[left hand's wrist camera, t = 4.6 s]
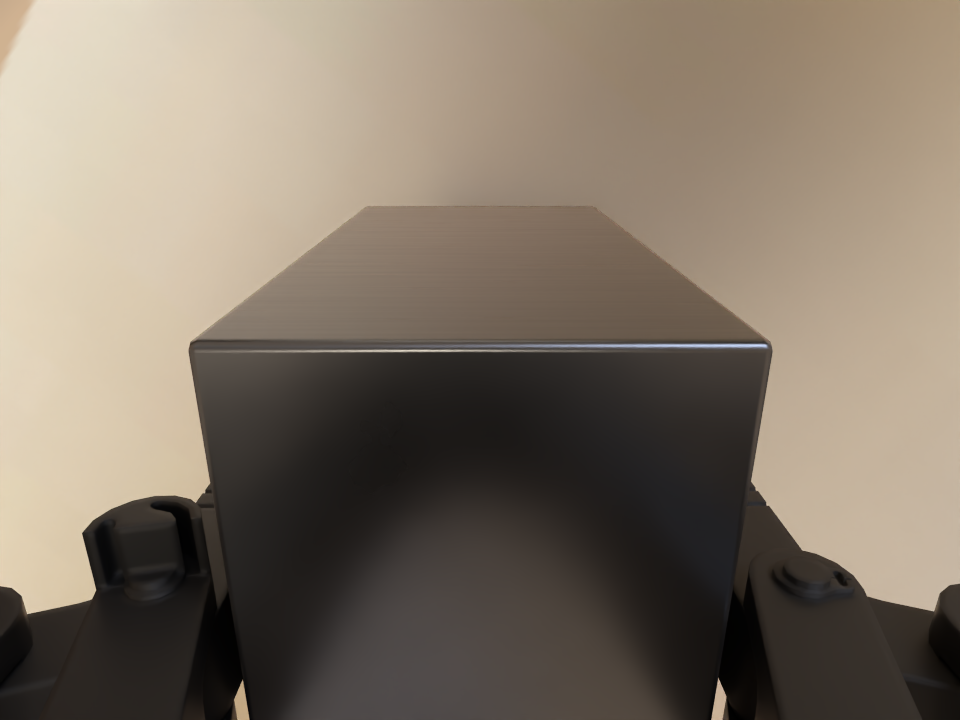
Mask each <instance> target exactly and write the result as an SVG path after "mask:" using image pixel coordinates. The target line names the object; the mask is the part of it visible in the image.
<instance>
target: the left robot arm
mask: <svg viewBox="0 0 960 720" xmlns="http://www.w3.org/2000/svg"><path fill="white" fill-rule="evenodd" d="M82 535H83V539H84V543H85V547H86V551H87V554H88V558H89V562H90V566H91V570H92V574H93V578H94V582H95V586H96V592H95V595H94V597H93V599H92V600H89V601H86V602H82V603H78V604H74V605H69V606H65V607H60V608H55V609H50V610H46V611H41V612H36V613H31V614H27V613H26V609H25V606H24V603H23V599H22V596H21V595H19V594H18V593H17V592H16V591H15V590H13V589H12V588H7V587H1V586H0V720H237V715H236V709H235V703H234V698H235V696H236V694H237V691H238V689H239V687H240V684H241V682H242V680H243V676H242V670H241V664H240V658H239V652H238V646H237V640H236V634H235V628H234V622H233V616H232V610H231V604H230V598H229V592H228V586H227V580H226V574H225V568H224V562H223V556H222V550H221V544H220V538H219V532H218V526H217V519H216V513H215V507H214V501H213V495H212V489H211V483H210V484H209V486H208V487H207V489H206V490H205V493H203V494H202V495H201V497H200V498H199V499H198V501H197V502H196V503H195V502H193V501H192V500H191V499H187V498H183V497H178V496H154V497H149V498H144V499H139V500H134V501H131V502H128V503H126V504H123V505H121V506H118V507H116V508H113V509H111V510H109V511H108V512H106V513H104V514H103V515H101V516H100V517H98V518H96V519H95V520H93V521H92V523H91V524H90V525H89V526H88V527H87V528H86V529H85V530H84V532H83V533H82ZM718 678H719V680H720V682H721V685H722V687H723V689H724V692H725V694H726V696H727V697H726V703H725V709H724V715H723V720H960V584H955V585H950V586H948V587H947V588H946V589H945V590H943V591H942V592H941V593H940V595H939V598H938V601H937V605H936V608H935V611H934V612H933V611H928V610H924V609H919V608H914V607H909V606H905V605H900V604H895V603H890V602H885V601H881V600H878V599H874V598H871V597H867V596H866V593H865V591H864V589H863V588H862V586H861V585H860V584H859V582H858V581H857V580H856V578H855V577H854V576H853V575H852V574H851V573H849V572H848V571H847V570H845V569H844V568H842V567H841V566H840V565H838V564H837V563H835V562H833V561H831V560H828V559H826V558H824V557H822V556H820V555H817V554H814V553H810V552H806V551H802V550H801V548H800V547H799V546H798V544H797V543H796V542H795V540H794V539H793V538H792V536H791V535H790V534H789V532H788V531H787V529H786V528H785V527H784V525H783V524H782V523H781V521H780V520H779V519H778V517H777V516H776V515H775V513H774V512H773V511H772V509H771V508H770V507H769V506H766V501H765V500H764V499H763V497H762V496H761V495H760V493H759V492H758V491H756V490H755V487H754V485H753V484H752V483H750V489H749V495H748V501H747V507H746V513H745V519H744V525H743V531H742V537H741V543H740V549H739V555H738V562H737V567H736V573H735V579H734V585H733V592H732V597H731V603H730V609H729V615H728V621H727V627H726V633H725V640H724V646H723V651H722V657H721V664H720V669H719V676H718Z"/></svg>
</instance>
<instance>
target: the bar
mask: <svg viewBox="0 0 960 720" xmlns="http://www.w3.org/2000/svg"><path fill="white" fill-rule="evenodd" d="M189 357H190V363H191V369H192V375H193V381H194V387H195V393H196V399H197V405H198V411H199V417H200V423H201V429H202V435H203V441H204V447H205V453H206V459H207V465H208V471H209V477H210V483H211V489H212V495H213V501H214V507H215V513H216V519H217V526H218V532H219V538H220V544H221V550H222V556H223V562H224V568H225V574H226V580H227V586H228V592H229V598H230V604H231V610H232V616H233V622H234V628H235V634H236V640H237V646H238V652H239V658H240V664H241V670H242V676H243V682H244V688H245V694H246V700H247V706H248V712H249V719H250V720H711V718H712V712H713V705H714V700H715V694H716V687H717V682H718V676H719V669H720V664H721V657H722V651H723V646H724V640H725V633H726V627H727V621H728V615H729V609H730V603H731V597H732V592H733V585H734V579H735V573H736V567H737V562H738V555H739V549H740V543H741V537H742V531H743V525H744V519H745V513H746V507H747V501H748V495H749V489H750V483H751V477H752V471H753V465H754V459H755V453H756V447H757V441H758V435H759V429H760V423H761V417H762V411H763V405H764V399H765V393H766V387H767V381H768V375H769V369H770V363H771V357H772V346H771V343H770V341H769V340H767V339H766V338H765V337H763V336H762V335H761V334H759V333H758V332H757V331H756V330H754V329H753V328H752V327H750V326H749V325H748V324H746V323H745V322H744V321H742V320H741V319H740V318H739V317H737V316H736V315H735V314H733V313H732V312H731V311H729V310H728V309H727V308H726V307H724V306H723V305H722V304H720V303H719V302H718V301H716V300H715V299H714V298H712V297H711V296H710V295H709V294H707V293H706V292H705V291H703V290H702V289H701V288H699V287H698V286H697V285H696V284H694V283H693V282H692V281H690V280H689V279H688V278H686V277H685V276H684V275H682V274H681V273H680V272H679V271H677V270H676V269H675V268H673V267H672V266H671V265H669V264H668V263H667V262H666V261H664V260H663V259H662V258H660V257H659V256H658V255H656V254H655V253H654V252H652V251H651V250H650V249H649V248H647V247H646V246H645V245H643V244H642V243H641V242H639V241H638V240H637V239H636V238H634V237H633V236H632V235H630V234H629V233H628V232H626V231H625V230H624V229H623V228H621V227H620V226H619V225H617V224H616V223H615V222H613V221H612V220H611V219H609V218H608V217H607V216H606V215H604V214H603V213H602V212H600V211H599V210H598V209H596V208H595V207H593V206H368V207H365V208H364V209H363V210H361V211H360V212H359V213H357V214H356V215H355V216H354V217H352V218H351V219H350V220H348V221H347V222H346V223H344V224H343V225H342V226H341V227H339V228H338V229H337V230H335V231H334V232H333V233H331V234H330V235H329V236H328V237H326V238H325V239H324V240H322V241H321V242H320V243H318V244H317V245H316V246H315V247H313V248H312V249H311V250H309V251H308V252H307V253H305V254H304V255H303V256H302V257H300V258H299V259H298V260H296V261H295V262H294V263H293V264H291V265H290V266H289V267H287V268H286V269H285V270H283V271H282V272H281V273H280V274H278V275H277V276H276V277H274V278H273V279H272V280H270V281H269V282H268V283H267V284H265V285H264V286H263V287H261V288H260V289H259V290H257V291H256V292H255V293H254V294H252V295H251V296H250V297H248V298H247V299H246V300H244V301H243V302H242V303H241V304H239V305H238V306H237V307H235V308H234V309H233V310H231V311H230V312H229V313H228V314H226V315H225V316H224V317H222V318H221V319H220V320H219V321H217V322H216V323H215V324H213V325H212V326H211V327H209V328H208V329H207V330H206V331H204V332H203V333H202V334H200V335H199V336H198V337H196V338H195V339H194V340H193V341H191V343H190V347H189Z"/></svg>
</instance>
